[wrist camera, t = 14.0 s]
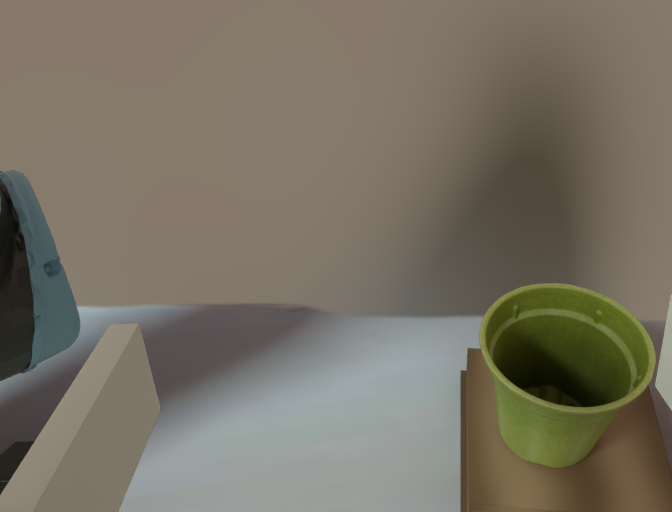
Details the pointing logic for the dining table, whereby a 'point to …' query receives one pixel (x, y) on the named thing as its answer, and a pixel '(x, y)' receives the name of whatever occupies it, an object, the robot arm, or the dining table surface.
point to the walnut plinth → (567, 482)
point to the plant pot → (562, 368)
